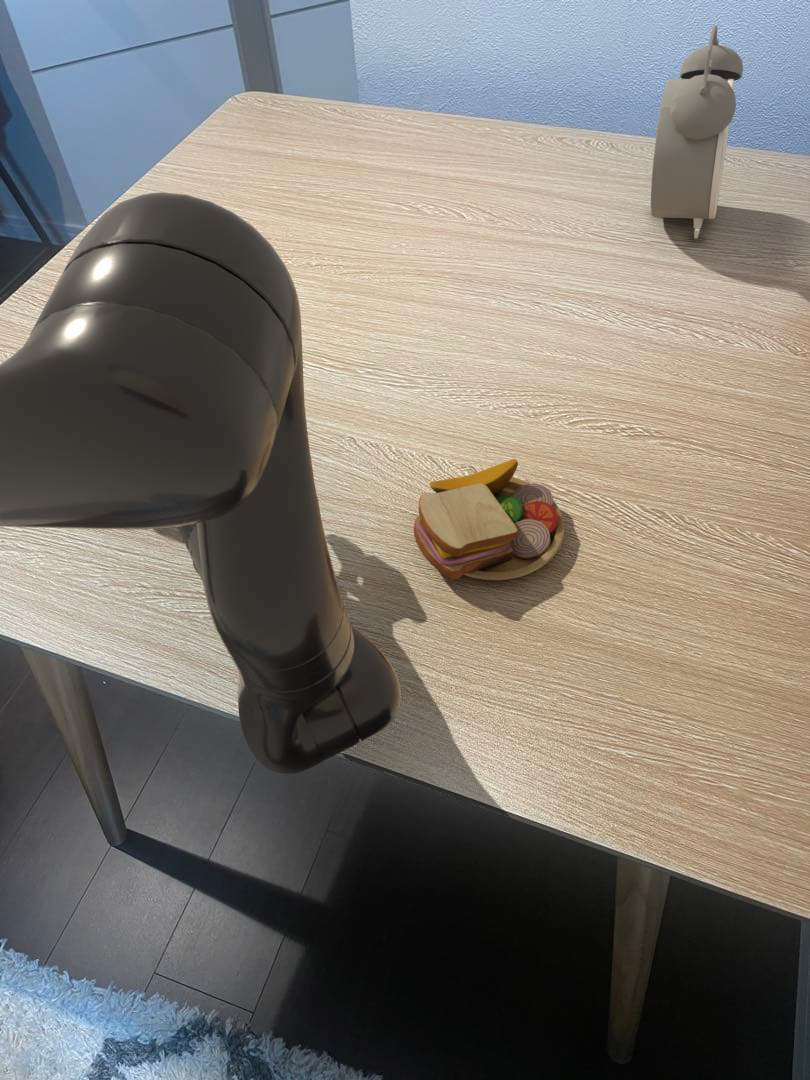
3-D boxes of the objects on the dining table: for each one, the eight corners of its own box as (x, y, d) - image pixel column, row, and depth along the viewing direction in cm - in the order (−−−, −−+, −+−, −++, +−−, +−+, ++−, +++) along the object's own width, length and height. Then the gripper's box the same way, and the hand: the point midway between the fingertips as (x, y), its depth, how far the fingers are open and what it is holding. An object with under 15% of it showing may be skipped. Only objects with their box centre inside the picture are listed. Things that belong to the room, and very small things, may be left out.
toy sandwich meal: (585, 567, 79) (591, 531, 76) (436, 605, 77) (435, 570, 74) (533, 471, 87) (536, 434, 84) (397, 503, 85) (394, 467, 82)
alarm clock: (707, 256, 110) (750, 64, 94) (634, 247, 112) (664, 58, 96) (720, 189, 120) (761, 6, 104) (653, 182, 122) (683, 1, 106)
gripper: (316, 471, 69) (245, 356, 79) (134, 539, 66) (82, 409, 75) (327, 537, 75) (259, 422, 85) (159, 602, 71) (108, 474, 81)
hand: (176, 416), depth 80 cm, fingers open, 8 cm apart
